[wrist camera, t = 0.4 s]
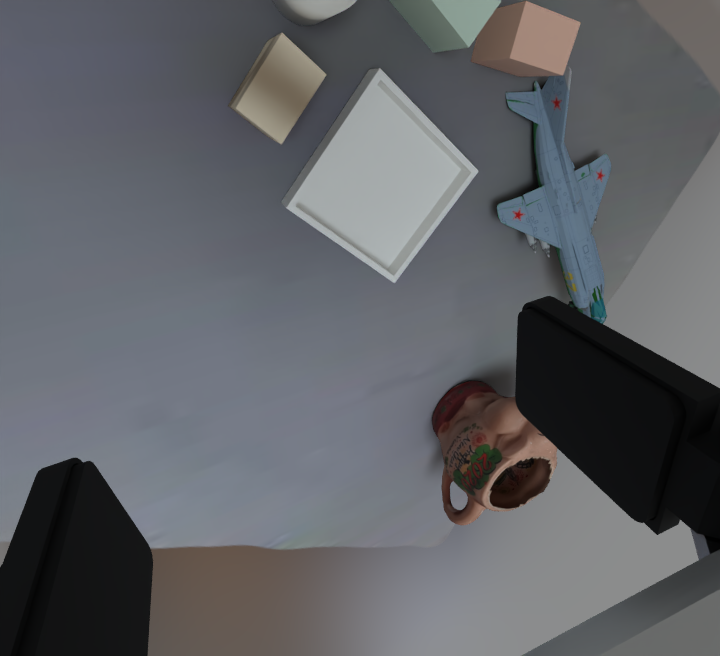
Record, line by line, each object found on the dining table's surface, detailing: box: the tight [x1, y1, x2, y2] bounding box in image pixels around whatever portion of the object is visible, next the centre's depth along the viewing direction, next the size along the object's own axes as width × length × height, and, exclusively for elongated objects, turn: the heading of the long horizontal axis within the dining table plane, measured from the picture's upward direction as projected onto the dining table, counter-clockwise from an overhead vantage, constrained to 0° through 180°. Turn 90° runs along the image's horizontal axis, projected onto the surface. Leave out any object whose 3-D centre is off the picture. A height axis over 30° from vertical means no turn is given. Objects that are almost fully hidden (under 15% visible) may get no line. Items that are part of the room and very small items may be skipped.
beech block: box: [228, 33, 326, 144], centre depth 35 cm, size 6×4×6 cm, turn 141°
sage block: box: [389, 0, 501, 53], centre depth 36 cm, size 6×4×6 cm, turn 51°
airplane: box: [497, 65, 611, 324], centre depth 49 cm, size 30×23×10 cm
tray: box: [281, 68, 478, 283], centre depth 43 cm, size 14×14×2 cm
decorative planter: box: [432, 381, 557, 525], centre depth 58 cm, size 20×12×14 cm, turn 152°
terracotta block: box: [471, 1, 581, 77], centre depth 40 cm, size 6×4×6 cm, turn 78°
